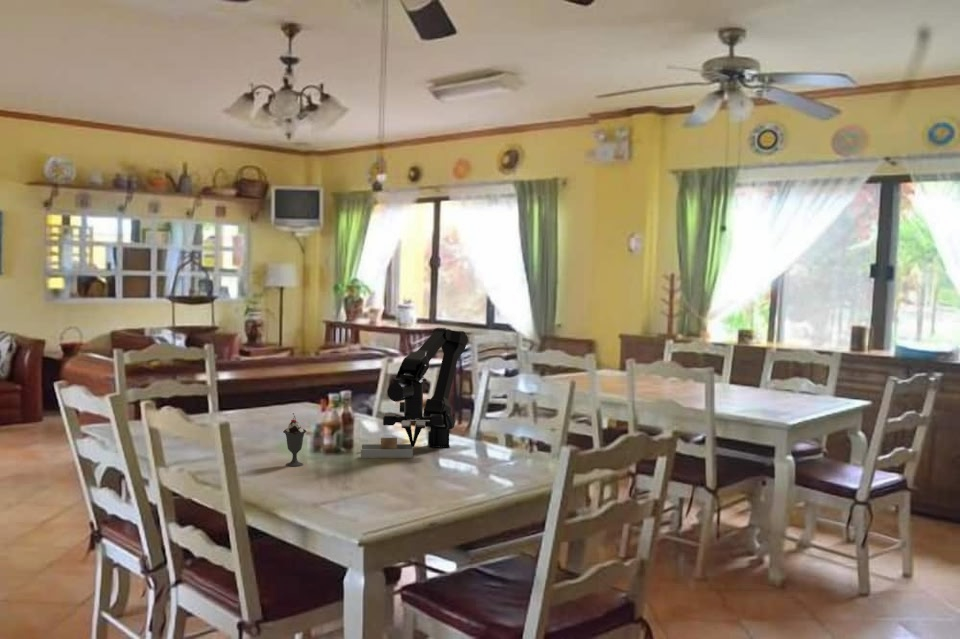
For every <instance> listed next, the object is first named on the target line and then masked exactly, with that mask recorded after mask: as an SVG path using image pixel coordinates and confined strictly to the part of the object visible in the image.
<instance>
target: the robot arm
mask: <svg viewBox="0 0 960 639" xmlns="http://www.w3.org/2000/svg"><path fill="white" fill-rule="evenodd" d="M468 342H469V336H468V335H467V334H466V332H465V331H463V330H452V329H449V328H448V327H447V328H446V327H436V328H434V329H433V332H432V334H431V335H430V336H429V337H428V338H427V339H426V341H425V342H423V344H422V345H421V346H420V347H419V348H418V350H416V351H414V352H412V353H410V354H408V355H407V356H406V357H404V358H403V360H402V362H401V363H400V367H399V369H398V370H397V373H396V375H395V378H393V381H392V383H391V384H390V385H389V386H388V389H387V391H386V392H387V396H388V398H389V400H391V401H393V402H399V413H401V414H402V413H403V415H402V416H399V415H398V416H397V413H384V414H383V416H382V417H383V418H382V425H383V426H394V425H395V424H397V423H400V424H401V428H402V429H404V430H405V432H406V434H407V435H408V436H407V437H408V439H409V444H411V447H413V448H414V447H415V446H416V442H417V441H418V440H417V439H418V437H419V434H420V433H421V431H422V429H426V428H429V430H428V431H427V434H428V435H427V444H428V445H429V448H450V447H451V446H450V430H453V428H455V426H456V425H455V424H456V420H455V419H454V417H453V415H452V413H451V412H452V407H451V403H450V401H449V397H450V393H451V389H452V385H453V380H454V377H455V376H454V375H455V372H456V367H457V363H458V359H459V358H460V357H461V355H462V354H463V353H464V352H465V350H466V347H467V345H468ZM440 349H441V351H442V353H443V356H442V359H441V364H440V368H439V372H438V376H437V379H436V384H435V389H434V393H433V395H432V397H431V398H427V399H426V400H425V405H424V383H426V382H427V378H426V377H424V376H425V375H426V374H427V371H428V370H429V368H430V361H431V360H432V358H433V357H434V356H435V355H436V354H437V353H438V352H439V350H440ZM412 423H415V424H414V431H413V432H414V433H413V432H412Z"/></svg>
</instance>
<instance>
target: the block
mask: <svg viewBox="0 0 960 639" xmlns="http://www.w3.org/2000/svg"><path fill="white" fill-rule="evenodd" d="M380 444H381V449H397V444H398V438H397V437H380Z"/></svg>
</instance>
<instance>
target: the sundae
mask: <svg viewBox="0 0 960 639" xmlns="http://www.w3.org/2000/svg"><path fill="white" fill-rule="evenodd" d="M292 415H293V418H292V419H291V421H290V422H289V424H288V426H287V428H285V429H284V430H283V433H284V434H285V438H286V444H287V449H288V451H289V453H290V452H291V454H292V459H291V461H290V462H286V464H285V466H287V467H293V468H296V467H301V466H304V463H303V462H301V461H299V460H298V456H297V455H298V453H299V452H300V451H301V450H302V447H303V443H304V442H303V441H304V435H305V434H306V433H307V430H306V429H305V428H302V427H301V425H300V423H299V422H298V420H296V415H295V413H292Z"/></svg>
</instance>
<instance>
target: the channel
mask: <svg viewBox="0 0 960 639" xmlns="http://www.w3.org/2000/svg"><path fill="white" fill-rule="evenodd" d="M360 458H361V459H362V458H364V459H370V458H371V459H372V458H373V459H374V458H375V459H378V458H382V459H385V458H386V459H387V458H389V459H391V458H392V459H394V458H396V459H397V458H398V459H401V458H402V459H406V458H407V459H408V458H409V459H412V458H413V459H414V447H411V443H397V449H381V443H361V449H360Z"/></svg>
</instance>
